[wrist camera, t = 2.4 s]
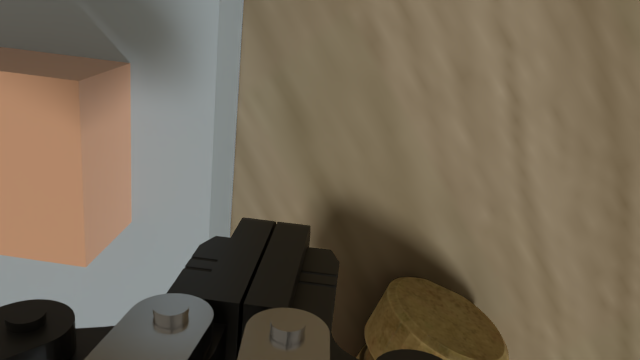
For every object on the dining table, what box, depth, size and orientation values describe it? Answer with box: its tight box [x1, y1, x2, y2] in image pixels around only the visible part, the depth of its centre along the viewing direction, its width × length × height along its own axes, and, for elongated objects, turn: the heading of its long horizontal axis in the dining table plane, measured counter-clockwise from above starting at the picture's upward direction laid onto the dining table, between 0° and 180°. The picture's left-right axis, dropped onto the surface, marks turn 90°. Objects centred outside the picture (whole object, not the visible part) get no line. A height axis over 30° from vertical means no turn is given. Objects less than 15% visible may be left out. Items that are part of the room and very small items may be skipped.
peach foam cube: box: [0, 47, 132, 267], centre depth 16 cm, size 5×5×3 cm
